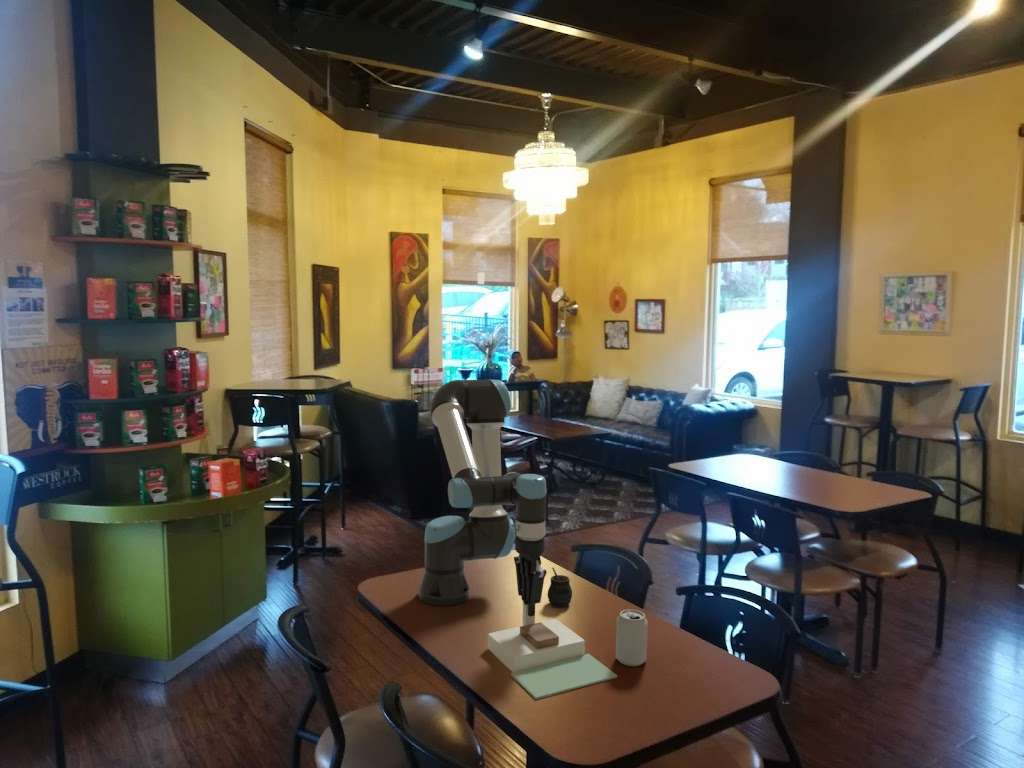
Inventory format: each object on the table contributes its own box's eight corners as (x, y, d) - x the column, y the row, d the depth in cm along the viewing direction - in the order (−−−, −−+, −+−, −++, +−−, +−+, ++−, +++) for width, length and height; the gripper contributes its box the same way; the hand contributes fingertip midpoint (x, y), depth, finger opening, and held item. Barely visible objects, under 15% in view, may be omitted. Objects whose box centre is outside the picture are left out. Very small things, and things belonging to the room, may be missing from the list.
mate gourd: (559, 611, 206) (560, 577, 205) (541, 603, 212) (541, 570, 211) (577, 605, 211) (577, 571, 210) (558, 597, 216) (559, 565, 215)
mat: (510, 675, 170) (510, 673, 170) (588, 655, 180) (588, 653, 180) (535, 699, 159) (536, 697, 159) (617, 677, 169) (617, 675, 169)
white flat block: (487, 648, 183) (488, 633, 182) (555, 633, 192) (555, 618, 192) (513, 673, 170) (514, 657, 170) (584, 655, 180) (584, 640, 179)
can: (627, 670, 173) (629, 622, 171) (609, 657, 179) (610, 610, 178) (652, 664, 176) (654, 616, 175) (633, 651, 183) (635, 605, 182)
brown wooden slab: (519, 634, 182) (520, 626, 182) (540, 629, 185) (540, 622, 185) (537, 649, 174) (537, 641, 174) (558, 644, 177) (558, 636, 177)
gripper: (505, 531, 186) (503, 619, 188) (529, 545, 174) (528, 639, 176) (530, 527, 189) (529, 614, 191) (556, 541, 178) (554, 633, 180)
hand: (528, 626), depth 184 cm, fingers closed
